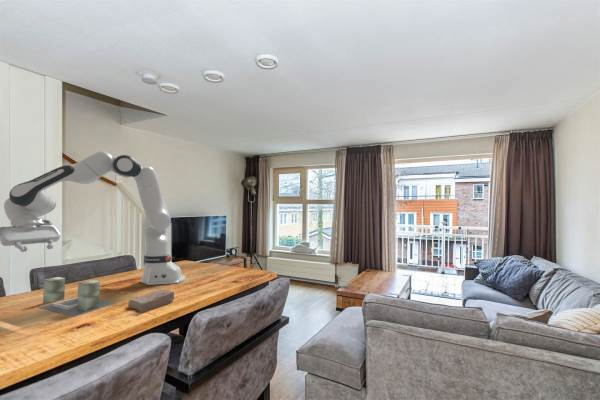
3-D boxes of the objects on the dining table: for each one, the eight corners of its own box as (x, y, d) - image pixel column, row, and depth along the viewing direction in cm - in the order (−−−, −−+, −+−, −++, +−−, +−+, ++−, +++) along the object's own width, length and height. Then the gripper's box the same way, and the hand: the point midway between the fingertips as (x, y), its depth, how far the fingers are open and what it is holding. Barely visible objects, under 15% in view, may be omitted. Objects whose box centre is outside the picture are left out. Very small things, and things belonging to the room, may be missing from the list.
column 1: (56, 299, 123) (57, 276, 123) (64, 301, 121) (65, 278, 121) (42, 303, 118) (44, 279, 118) (50, 305, 116) (51, 280, 116)
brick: (140, 314, 110) (141, 301, 110) (126, 310, 113) (126, 298, 113) (174, 301, 125) (175, 291, 125) (161, 298, 128) (161, 288, 129)
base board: (81, 298, 125) (82, 293, 125) (116, 306, 117) (116, 300, 117) (37, 310, 110) (37, 305, 110) (73, 320, 102) (73, 314, 102)
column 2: (90, 304, 115) (91, 279, 115) (98, 306, 113) (99, 281, 113) (77, 308, 110) (78, 282, 110) (85, 310, 108) (86, 284, 108)
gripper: (-2, 222, 118) (10, 247, 114) (55, 220, 137) (67, 242, 133) (-8, 232, 119) (3, 257, 115) (49, 229, 138) (60, 251, 134)
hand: (38, 249), depth 124 cm, fingers open, 8 cm apart
